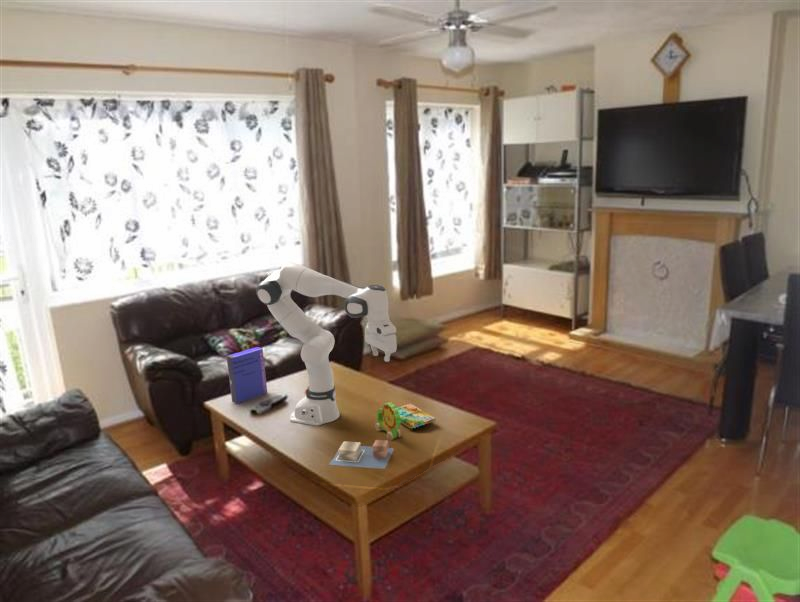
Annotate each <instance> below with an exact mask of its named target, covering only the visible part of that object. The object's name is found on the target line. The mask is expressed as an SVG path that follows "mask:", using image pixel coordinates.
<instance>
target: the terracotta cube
mask: <svg viewBox="0 0 800 602" xmlns="http://www.w3.org/2000/svg"><path fill="white" fill-rule="evenodd" d="M372 447H373V458H386V457H387V455H388V453H389V448H390V447H389V440H388V439H387V440H385V439H384V440H383V439H375V440H374V443H373V444H372Z"/></svg>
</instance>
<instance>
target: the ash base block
mask: <svg viewBox="0 0 800 602" xmlns="http://www.w3.org/2000/svg"><path fill="white" fill-rule="evenodd" d="M361 446H362V443H361V442H360V441H359V442H357V441H342V443H341V444H340V447H339V448H338V449H337V452H338V453H339V459H342V460H357V458H358V457H359V455H360V453H361Z"/></svg>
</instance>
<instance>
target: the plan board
mask: <svg viewBox="0 0 800 602" xmlns="http://www.w3.org/2000/svg"><path fill="white" fill-rule="evenodd" d="M394 450H395V447H389V453H388V455H387V457H386V458H373V446H367V445H361V453H360V455H359V457H358V458H357V460H342V459H339V453H338V451H337V452H336V453H335V455H334V456H333V458H332V459H331V460H330V463H329V464H328V465H329V466H338V467H339V466H341V467H354V468H369V469H379V470H380V469H381V470H385V469H386V468H387V467H388V463H389V461H390V460H391V457H392V455H393V452H394Z"/></svg>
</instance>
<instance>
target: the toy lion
mask: <svg viewBox="0 0 800 602" xmlns="http://www.w3.org/2000/svg"><path fill="white" fill-rule="evenodd" d="M397 408H398V407H396V405H395V404H393V402H387V403H386V402H385V403H384V404H383V406H382V407H381V408H379V409H378V410H377V412H376V423H375V424H374V429H375V431H378V432H381V431H385V432H386V438H387V440H389V441H393V440H394V439H396V438H397V437H398V438H401V436H402V432H401V430H400V429H399V427H400V425H401V423H400V415H399V412H398V410H397Z"/></svg>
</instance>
